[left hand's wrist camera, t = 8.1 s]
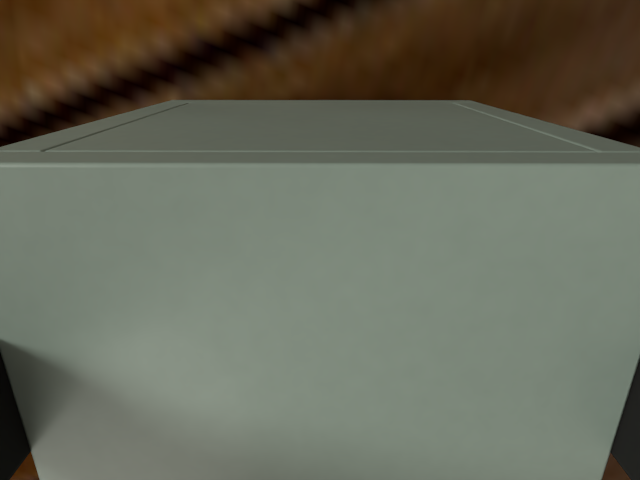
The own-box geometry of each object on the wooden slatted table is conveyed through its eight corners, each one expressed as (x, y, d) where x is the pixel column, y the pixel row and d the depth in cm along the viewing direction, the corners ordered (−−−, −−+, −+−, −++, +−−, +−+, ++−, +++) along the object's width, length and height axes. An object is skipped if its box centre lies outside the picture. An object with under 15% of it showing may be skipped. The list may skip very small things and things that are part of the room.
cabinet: (423, 500, 26) (496, 818, 15) (217, 500, 26) (143, 815, 15) (471, 100, 18) (703, 163, 7) (171, 99, 18) (-62, 162, 7)
